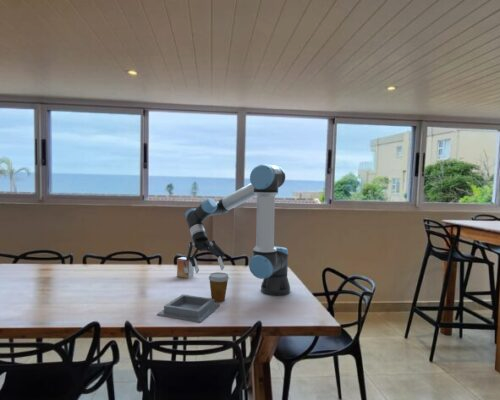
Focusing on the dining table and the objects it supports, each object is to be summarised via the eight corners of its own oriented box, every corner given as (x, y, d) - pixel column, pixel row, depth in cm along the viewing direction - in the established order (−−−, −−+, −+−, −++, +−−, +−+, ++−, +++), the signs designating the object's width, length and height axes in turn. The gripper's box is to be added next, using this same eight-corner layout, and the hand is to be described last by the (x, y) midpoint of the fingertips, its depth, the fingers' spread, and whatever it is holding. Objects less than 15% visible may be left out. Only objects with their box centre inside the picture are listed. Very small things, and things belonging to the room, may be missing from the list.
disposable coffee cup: (231, 298, 172) (232, 273, 171) (221, 304, 163) (222, 278, 162) (214, 295, 176) (215, 271, 175) (204, 301, 167) (204, 275, 166)
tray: (220, 305, 161) (220, 298, 161) (200, 322, 142) (200, 314, 142) (180, 299, 168) (180, 292, 167) (157, 315, 149) (157, 306, 148)
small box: (176, 276, 206) (177, 258, 205) (182, 274, 211) (182, 256, 210) (188, 278, 203) (189, 260, 202) (193, 275, 208) (194, 258, 207)
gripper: (217, 237, 196) (230, 271, 184) (174, 240, 182) (184, 277, 171) (222, 229, 191) (235, 263, 179) (177, 231, 178) (188, 268, 166)
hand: (210, 270), depth 175 cm, fingers open, 13 cm apart
